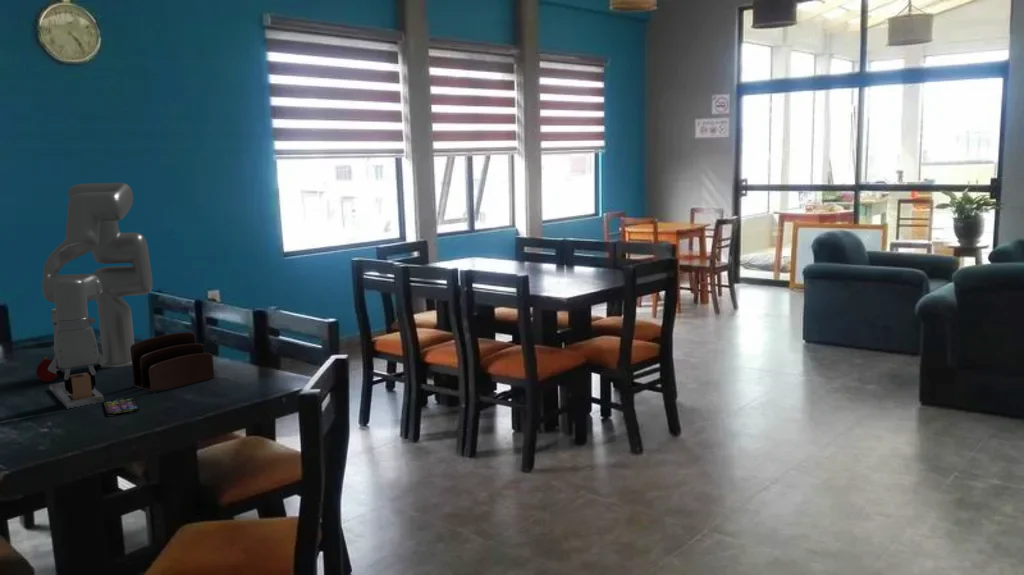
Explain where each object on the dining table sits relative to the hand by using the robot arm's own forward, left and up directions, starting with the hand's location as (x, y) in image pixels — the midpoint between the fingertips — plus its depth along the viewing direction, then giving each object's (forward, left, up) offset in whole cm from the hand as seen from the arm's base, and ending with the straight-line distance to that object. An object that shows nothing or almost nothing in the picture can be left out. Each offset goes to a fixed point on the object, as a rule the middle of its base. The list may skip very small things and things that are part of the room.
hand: (80, 390), depth 223 cm
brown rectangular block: (0, 0, -2) cm, 2 cm away
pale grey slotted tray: (0, -7, -3) cm, 8 cm away
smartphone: (-7, +12, -4) cm, 15 cm away
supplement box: (-14, -92, -4) cm, 93 cm away
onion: (+3, -30, -4) cm, 30 cm away
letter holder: (-25, -3, -4) cm, 26 cm away
